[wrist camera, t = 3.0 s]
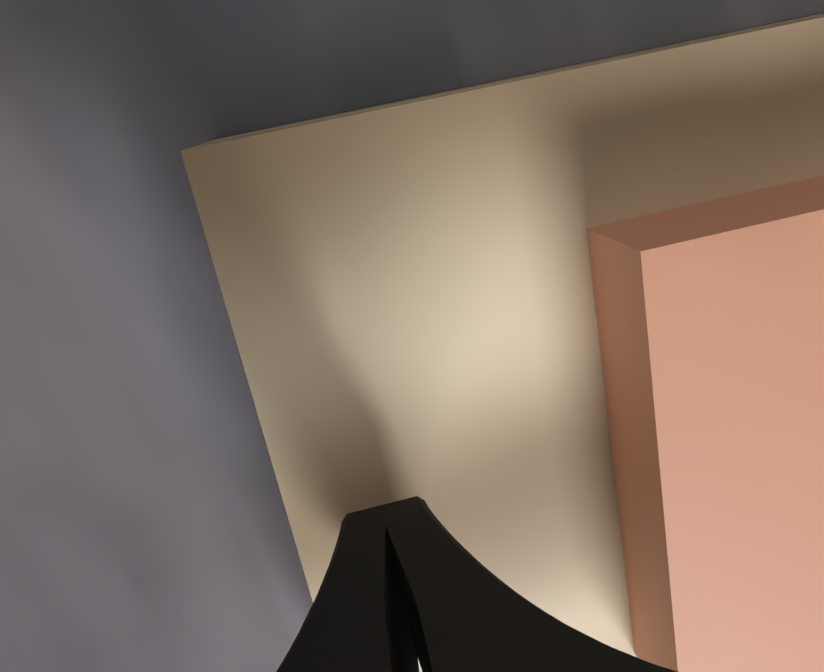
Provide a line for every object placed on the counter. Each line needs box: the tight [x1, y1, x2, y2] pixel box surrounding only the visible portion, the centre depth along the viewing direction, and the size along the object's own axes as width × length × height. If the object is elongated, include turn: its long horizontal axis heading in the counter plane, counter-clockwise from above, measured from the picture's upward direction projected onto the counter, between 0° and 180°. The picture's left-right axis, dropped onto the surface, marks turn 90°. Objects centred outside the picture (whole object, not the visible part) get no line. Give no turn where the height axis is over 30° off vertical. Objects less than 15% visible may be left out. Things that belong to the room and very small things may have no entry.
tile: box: [586, 175, 824, 672], centre depth 13 cm, size 9×6×2 cm, turn 11°
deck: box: [180, 13, 824, 672], centre depth 15 cm, size 14×16×4 cm
